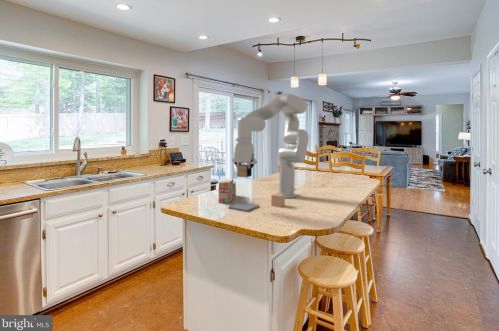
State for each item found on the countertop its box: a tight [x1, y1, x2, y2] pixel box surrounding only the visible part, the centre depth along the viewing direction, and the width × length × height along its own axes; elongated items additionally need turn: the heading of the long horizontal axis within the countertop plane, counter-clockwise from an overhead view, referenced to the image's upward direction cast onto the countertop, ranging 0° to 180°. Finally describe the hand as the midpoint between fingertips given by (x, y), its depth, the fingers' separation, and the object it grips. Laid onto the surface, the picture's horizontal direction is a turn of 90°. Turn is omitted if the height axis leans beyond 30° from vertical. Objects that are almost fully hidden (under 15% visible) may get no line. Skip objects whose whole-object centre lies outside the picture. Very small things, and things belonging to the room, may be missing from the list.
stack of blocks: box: [218, 178, 237, 204], centre depth 187 cm, size 21×6×12 cm, turn 172°
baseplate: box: [228, 201, 260, 213], centre depth 167 cm, size 12×12×1 cm
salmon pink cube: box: [270, 193, 286, 208], centre depth 173 cm, size 6×6×6 cm
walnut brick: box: [236, 163, 251, 178], centre depth 165 cm, size 6×6×6 cm
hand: (244, 174), depth 165 cm, fingers closed on walnut brick, 5 cm apart
